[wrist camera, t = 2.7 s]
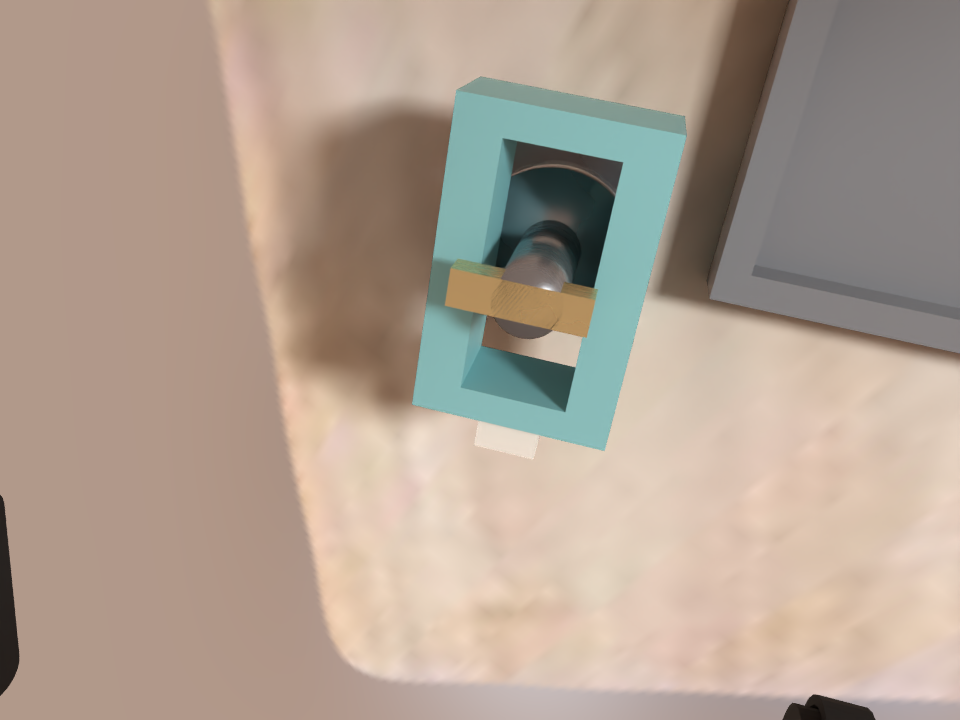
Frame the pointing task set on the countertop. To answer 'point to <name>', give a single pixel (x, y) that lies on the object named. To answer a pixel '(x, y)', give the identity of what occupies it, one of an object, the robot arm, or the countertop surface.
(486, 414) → the teal rectangular frame
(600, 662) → the countertop surface
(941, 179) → the tray
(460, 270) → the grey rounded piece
